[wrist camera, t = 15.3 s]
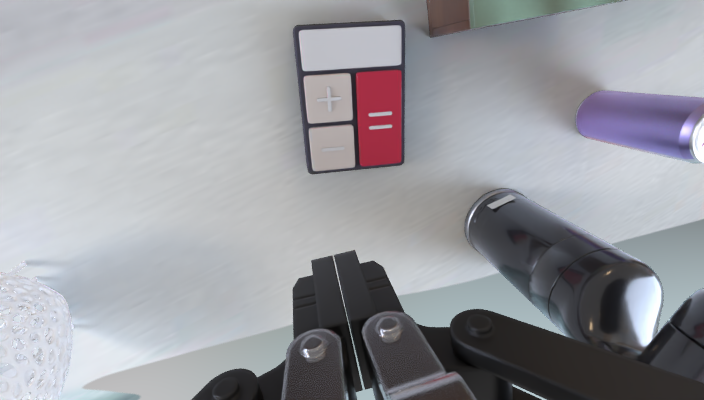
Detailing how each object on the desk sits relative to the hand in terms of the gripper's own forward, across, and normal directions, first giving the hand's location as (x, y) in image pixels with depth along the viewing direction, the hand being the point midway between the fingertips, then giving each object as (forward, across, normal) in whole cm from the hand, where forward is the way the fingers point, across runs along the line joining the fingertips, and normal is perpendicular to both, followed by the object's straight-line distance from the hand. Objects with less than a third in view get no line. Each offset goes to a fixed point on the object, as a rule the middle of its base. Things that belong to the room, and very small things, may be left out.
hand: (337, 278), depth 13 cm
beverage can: (+32, -36, +5) cm, 49 cm away
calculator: (+32, -6, -2) cm, 33 cm away
